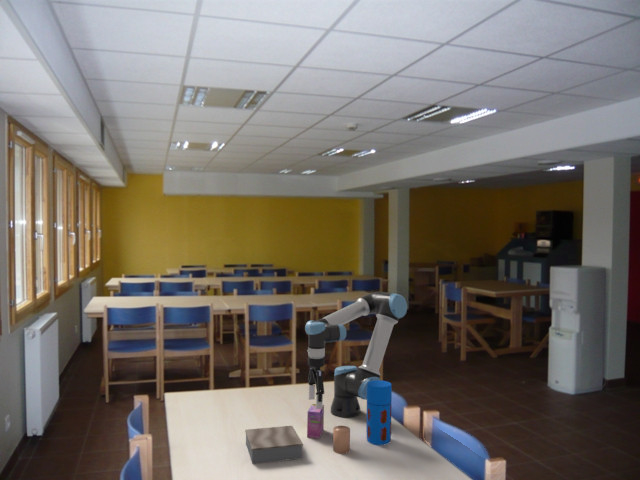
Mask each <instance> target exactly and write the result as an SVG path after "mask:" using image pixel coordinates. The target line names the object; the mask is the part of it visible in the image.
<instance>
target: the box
mask: <svg viewBox="0 0 640 480" xmlns="http://www.w3.org/2000/svg"><path fill="white" fill-rule="evenodd" d="M324 416H325V405H324V404H322V409H316V403H312V404H311V405H310V407H309V409H308V410H307V418H306V419H307V424H306V428H307V429H306V437H307V438H310V439H311V438H312V439H320V437H321V435H323V434H322V433H323V431H324V429H325V427H324V423H325V422H324V418H325V417H324Z"/></svg>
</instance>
